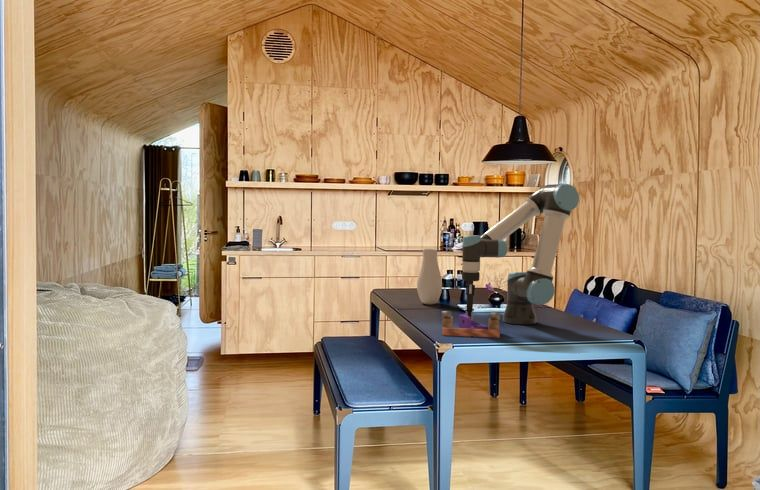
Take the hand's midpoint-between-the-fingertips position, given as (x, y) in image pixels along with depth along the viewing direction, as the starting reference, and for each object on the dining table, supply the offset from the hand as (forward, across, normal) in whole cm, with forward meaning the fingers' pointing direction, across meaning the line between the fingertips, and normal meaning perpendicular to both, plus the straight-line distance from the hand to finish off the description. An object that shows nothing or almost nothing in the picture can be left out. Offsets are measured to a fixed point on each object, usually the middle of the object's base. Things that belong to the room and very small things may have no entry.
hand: (469, 326), depth 262 cm
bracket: (+2, +3, +2) cm, 4 cm away
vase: (+3, -71, -21) cm, 74 cm away
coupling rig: (+2, +7, 0) cm, 7 cm away
